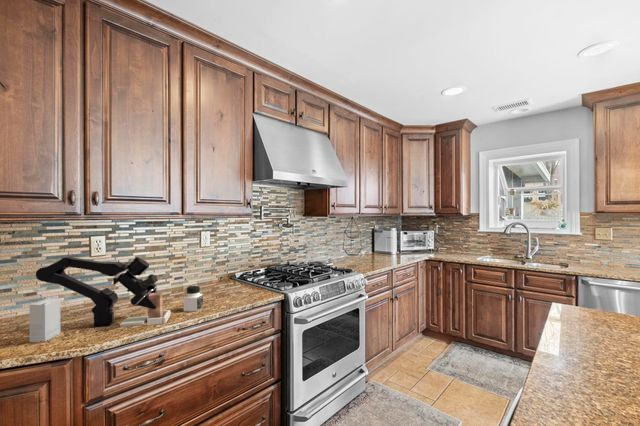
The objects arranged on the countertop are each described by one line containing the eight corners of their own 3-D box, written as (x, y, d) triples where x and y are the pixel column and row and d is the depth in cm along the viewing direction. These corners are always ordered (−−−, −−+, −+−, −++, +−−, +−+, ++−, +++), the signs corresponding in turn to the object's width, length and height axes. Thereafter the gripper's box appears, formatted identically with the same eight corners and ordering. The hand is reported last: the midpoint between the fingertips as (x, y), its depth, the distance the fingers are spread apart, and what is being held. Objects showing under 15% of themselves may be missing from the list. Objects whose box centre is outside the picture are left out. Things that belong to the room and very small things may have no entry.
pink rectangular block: (147, 322, 138) (147, 295, 138) (150, 319, 143) (150, 293, 143) (160, 321, 139) (160, 295, 140) (162, 317, 144) (162, 292, 144)
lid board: (119, 326, 133) (119, 324, 133) (126, 320, 142) (126, 317, 142) (143, 324, 136) (143, 322, 136) (148, 317, 144) (148, 315, 144)
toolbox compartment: (147, 325, 135) (147, 319, 135) (153, 316, 146) (153, 311, 146) (165, 323, 137) (165, 317, 137) (170, 314, 148) (170, 309, 148)
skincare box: (45, 334, 125) (45, 298, 125) (61, 334, 126) (61, 297, 126) (28, 343, 117) (28, 304, 117) (45, 342, 117) (45, 303, 117)
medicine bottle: (197, 311, 153) (197, 287, 153) (183, 311, 153) (183, 287, 154) (203, 307, 160) (202, 284, 160) (189, 307, 161) (189, 284, 161)
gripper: (138, 273, 131) (166, 297, 134) (151, 266, 150) (176, 287, 152) (118, 293, 129) (147, 317, 132) (133, 283, 148) (159, 304, 150)
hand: (158, 305), depth 142 cm, fingers open, 9 cm apart
